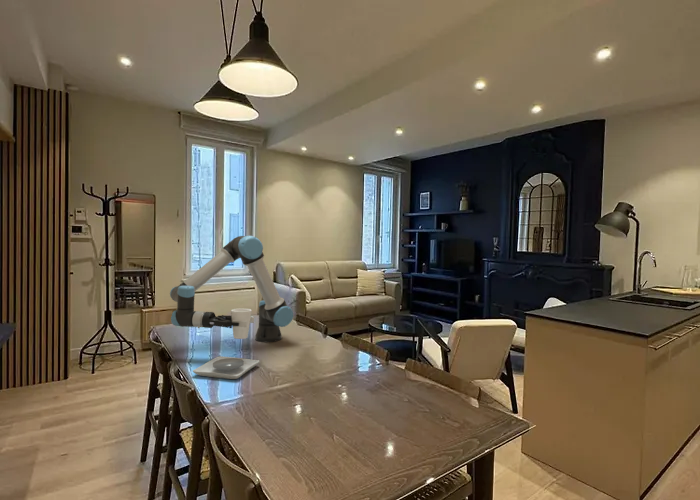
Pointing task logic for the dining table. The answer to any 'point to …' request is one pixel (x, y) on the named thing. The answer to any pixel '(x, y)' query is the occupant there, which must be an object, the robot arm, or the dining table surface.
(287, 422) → the dining table surface
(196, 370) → the salad plate
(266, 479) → the dining table surface
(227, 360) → the slate coaster
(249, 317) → the foam cup
